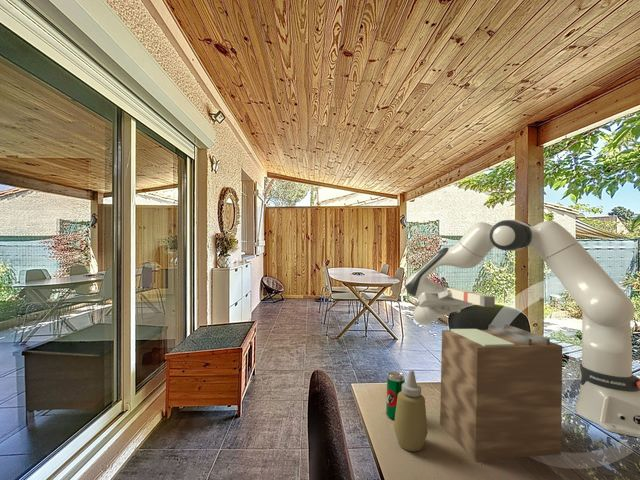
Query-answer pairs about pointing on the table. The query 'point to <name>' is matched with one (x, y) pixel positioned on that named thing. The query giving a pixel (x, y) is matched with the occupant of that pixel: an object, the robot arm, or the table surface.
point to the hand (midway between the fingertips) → (455, 291)
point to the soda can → (393, 392)
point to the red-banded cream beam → (471, 297)
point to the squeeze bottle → (410, 416)
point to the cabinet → (502, 394)
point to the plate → (482, 337)
